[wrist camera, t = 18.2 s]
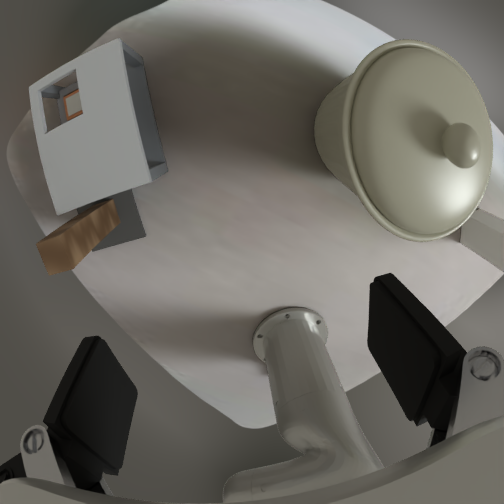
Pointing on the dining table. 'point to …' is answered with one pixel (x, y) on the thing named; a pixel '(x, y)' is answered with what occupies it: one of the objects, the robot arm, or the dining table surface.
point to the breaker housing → (98, 128)
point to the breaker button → (72, 105)
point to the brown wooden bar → (77, 237)
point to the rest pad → (128, 218)
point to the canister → (409, 139)
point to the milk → (485, 237)
